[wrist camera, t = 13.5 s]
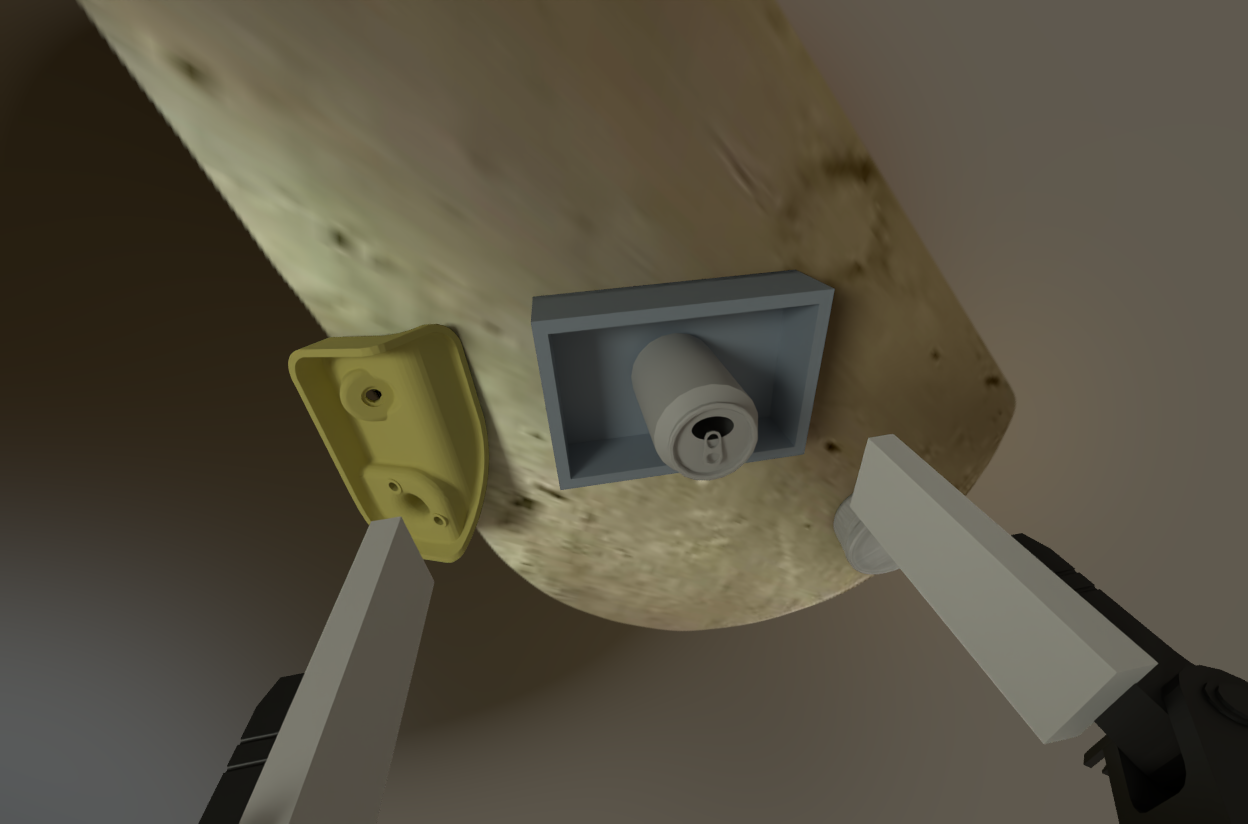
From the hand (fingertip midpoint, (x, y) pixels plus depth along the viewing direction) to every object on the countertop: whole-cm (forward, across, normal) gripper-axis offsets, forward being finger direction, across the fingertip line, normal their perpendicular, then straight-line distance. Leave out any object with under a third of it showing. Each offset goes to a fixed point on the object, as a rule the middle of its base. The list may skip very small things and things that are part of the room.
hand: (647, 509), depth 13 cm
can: (+26, +7, -9) cm, 28 cm away
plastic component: (+26, -17, -12) cm, 33 cm away
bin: (+26, +7, -9) cm, 29 cm away
